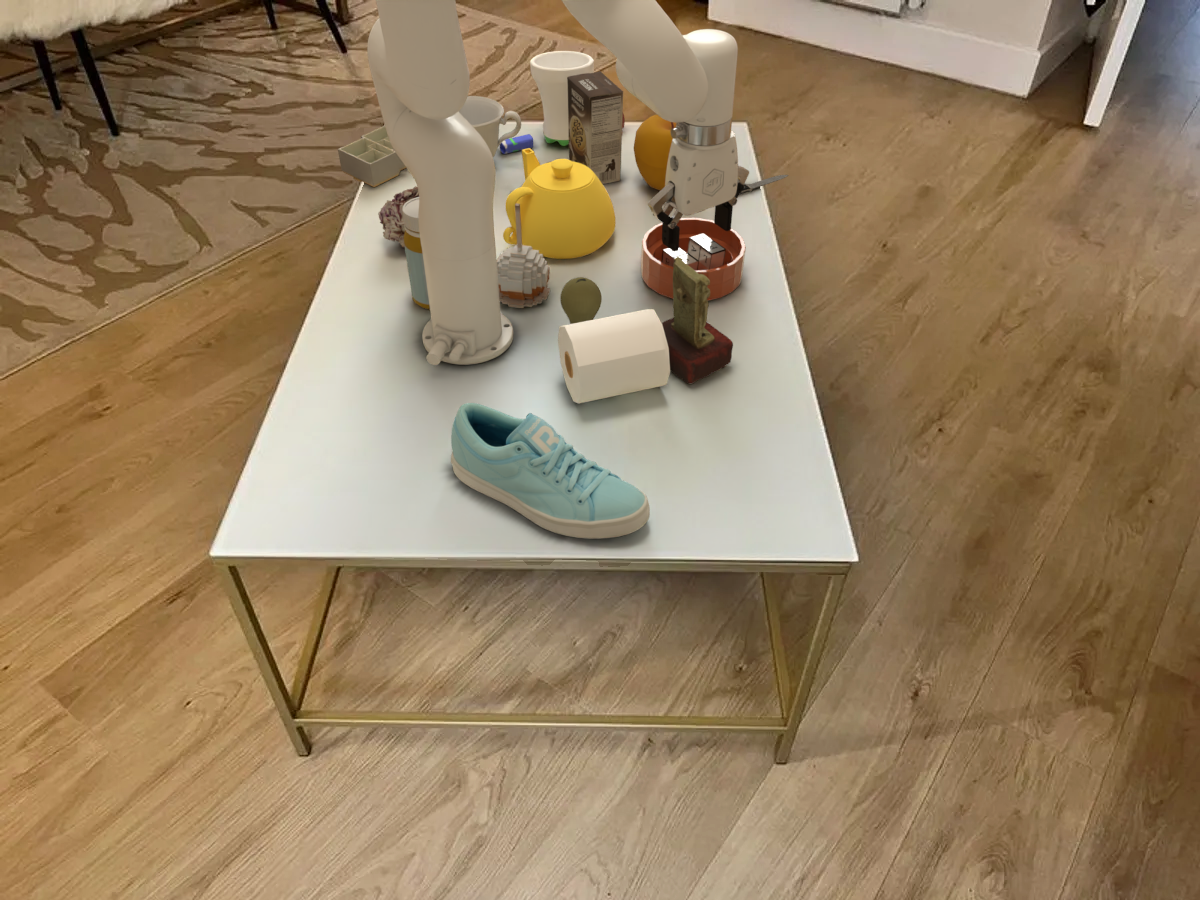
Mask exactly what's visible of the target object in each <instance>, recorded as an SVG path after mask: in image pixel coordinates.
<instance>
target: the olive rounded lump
mask: <svg viewBox="0 0 1200 900" xmlns="http://www.w3.org/2000/svg"><path fill="white" fill-rule="evenodd" d="M561 289H562V290H561V292H560V295H559V296H560V306H561V308H562V310H563V312H564V313H565V315H566V316H567V319H568V320H569V324H574V323H579V322H584V321H589V320H594V319H595V317H596V315H597V314H598V312H599V310H600V308H601V305H602V301H603V298H602V292H601V290H600V287H599V286H598V285H597V283H596V282H595V281H593V280H592V279H590V278H588V277H584V276H580V277H574V278H572V279H570V280H569V281H568V282H566V283H565V285H564V286H563V287H562V288H561Z"/></svg>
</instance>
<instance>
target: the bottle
mask: <svg viewBox="0 0 1200 900" xmlns="http://www.w3.org/2000/svg"><path fill="white" fill-rule="evenodd" d="M402 212H403V219H404V224H405V233H404V246H405V247H404V252H405V258H406V264H407V265H406V266H407V272H408V279H409V286H410V292H411V297H412V301H413V302H414V303H415V304H416V305H417V306H419V307H421V308H423V309H425V310H428V311H430V305H429V298H428V290H427V283H426V275H425V268H424V260H423V253H422V246H421V240H420V232H419V220H418V213H419V197H416V198H413V199H411V200H409V201H407V202H406V203H405V204H404V205H403V209H402Z"/></svg>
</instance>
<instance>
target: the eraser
mask: <svg viewBox="0 0 1200 900" xmlns="http://www.w3.org/2000/svg"><path fill="white" fill-rule="evenodd" d="M527 148H530V149H531V148H534V137H533V135H531V134H530V133H528V134H523V135H519V136H514V137H512V138H509V139H506V140H504V141H503V142H502V143H501V144H500V145H499V151H500V152H501V153H502V154H503V155H506V154H510V153H515V152H518V151H522V150H523V149H527Z"/></svg>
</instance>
